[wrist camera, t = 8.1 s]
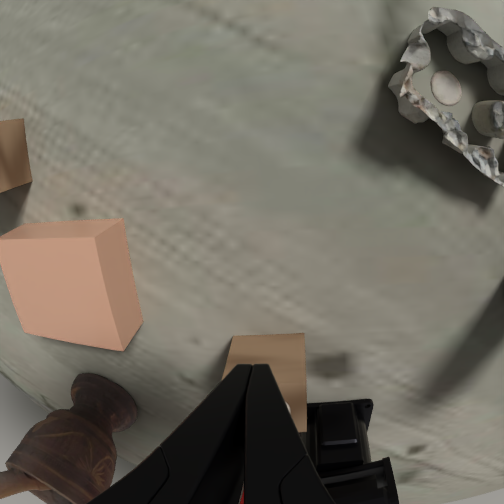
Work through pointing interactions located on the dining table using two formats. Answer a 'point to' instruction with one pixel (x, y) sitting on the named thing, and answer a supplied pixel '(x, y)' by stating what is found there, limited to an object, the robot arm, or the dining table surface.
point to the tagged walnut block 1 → (13, 155)
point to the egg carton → (455, 85)
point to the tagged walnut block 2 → (277, 366)
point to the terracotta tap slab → (73, 281)
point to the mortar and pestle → (72, 446)
